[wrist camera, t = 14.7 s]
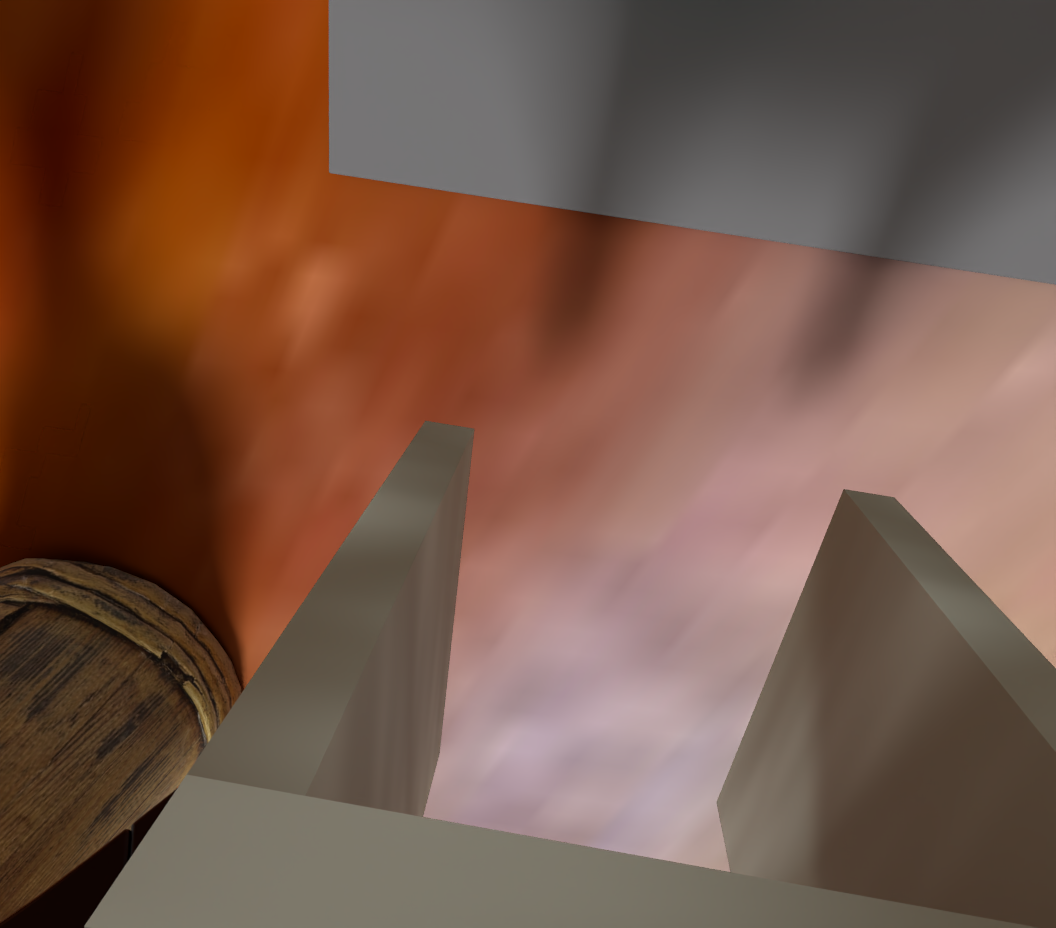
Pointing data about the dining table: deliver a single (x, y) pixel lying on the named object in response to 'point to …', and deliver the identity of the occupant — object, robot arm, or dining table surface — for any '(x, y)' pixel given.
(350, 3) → the mat
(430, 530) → the cover
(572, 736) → the dining table surface
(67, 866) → the wooden mug
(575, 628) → the dining table surface
